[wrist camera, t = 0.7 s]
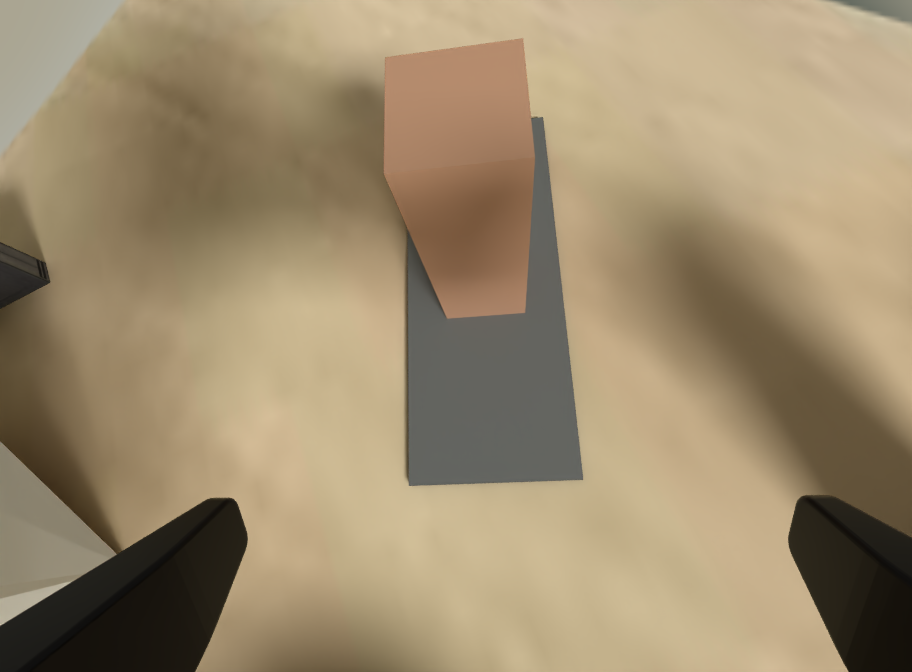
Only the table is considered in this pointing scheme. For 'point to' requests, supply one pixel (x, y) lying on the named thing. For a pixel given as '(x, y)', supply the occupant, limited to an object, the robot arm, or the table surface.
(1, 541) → the folded paper
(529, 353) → the charcoal mat
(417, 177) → the terracotta block
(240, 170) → the table surface
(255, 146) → the table surface
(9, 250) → the mini dv tape
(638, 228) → the table surface
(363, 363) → the table surface
